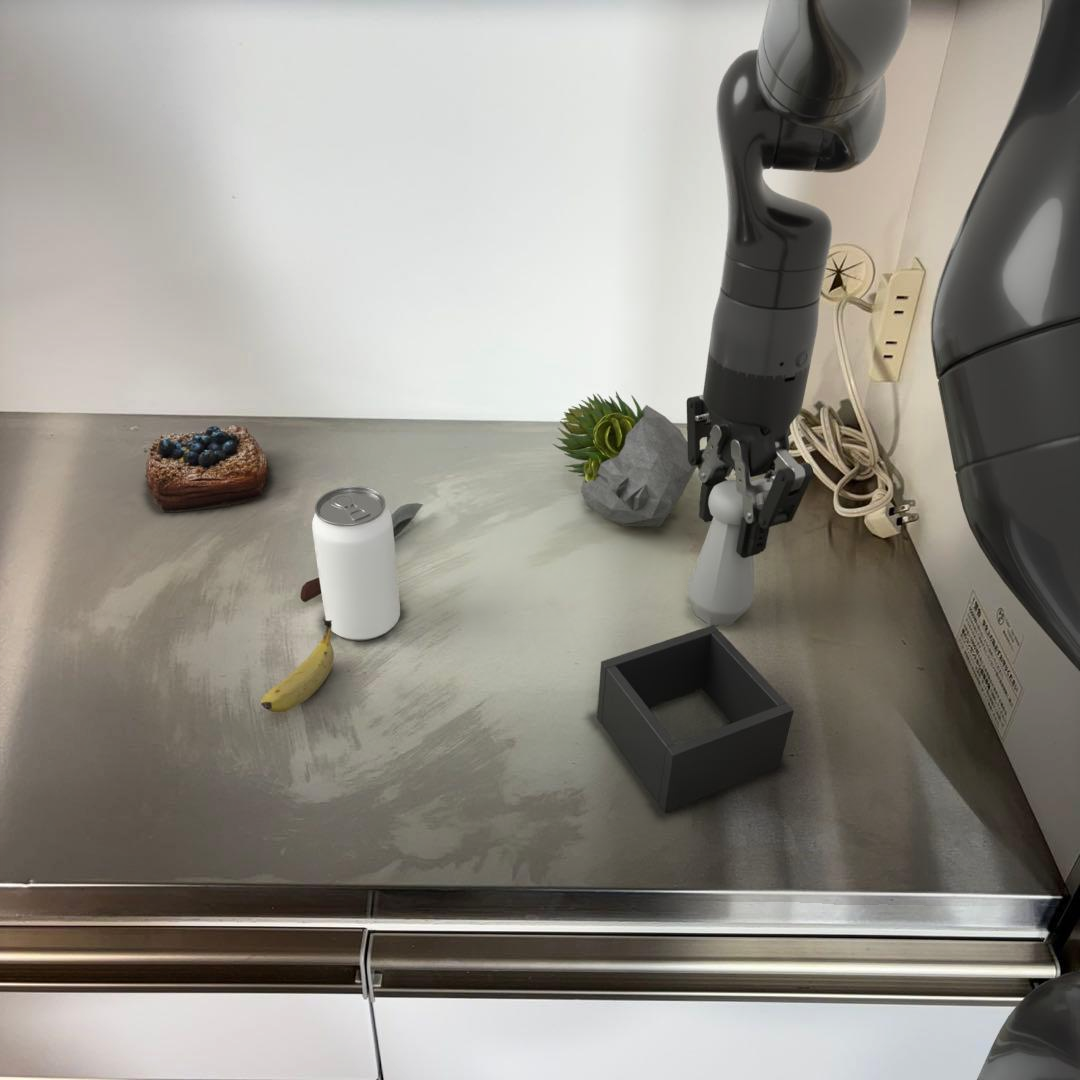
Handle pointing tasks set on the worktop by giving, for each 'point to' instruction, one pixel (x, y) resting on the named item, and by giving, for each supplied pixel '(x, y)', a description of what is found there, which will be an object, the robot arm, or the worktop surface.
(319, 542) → the can
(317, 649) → the banana
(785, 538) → the worktop surface
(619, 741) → the holder
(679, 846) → the worktop surface
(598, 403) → the potted plant
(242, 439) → the pastry
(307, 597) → the knife
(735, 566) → the salt shaker
